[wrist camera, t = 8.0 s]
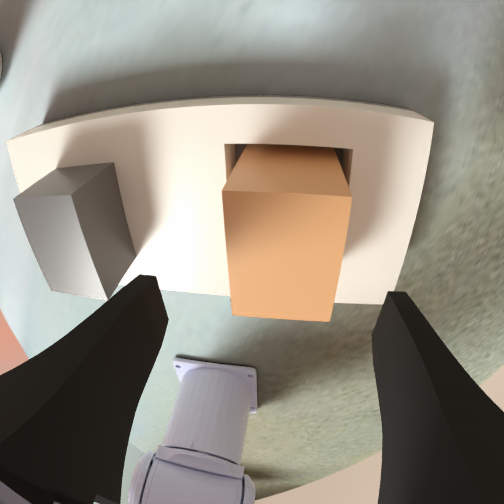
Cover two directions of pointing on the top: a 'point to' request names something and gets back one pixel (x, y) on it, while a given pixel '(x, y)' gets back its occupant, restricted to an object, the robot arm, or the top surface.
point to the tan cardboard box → (285, 231)
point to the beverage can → (0, 64)
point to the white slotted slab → (207, 188)
